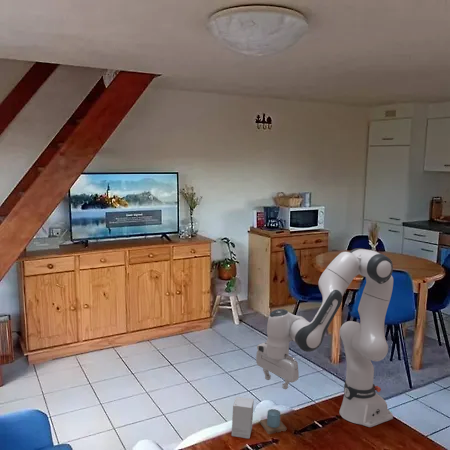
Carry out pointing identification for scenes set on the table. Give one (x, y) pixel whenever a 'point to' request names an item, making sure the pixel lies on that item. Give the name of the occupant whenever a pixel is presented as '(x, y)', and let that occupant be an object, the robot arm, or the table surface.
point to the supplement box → (242, 417)
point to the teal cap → (273, 418)
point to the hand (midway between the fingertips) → (276, 383)
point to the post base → (272, 430)
